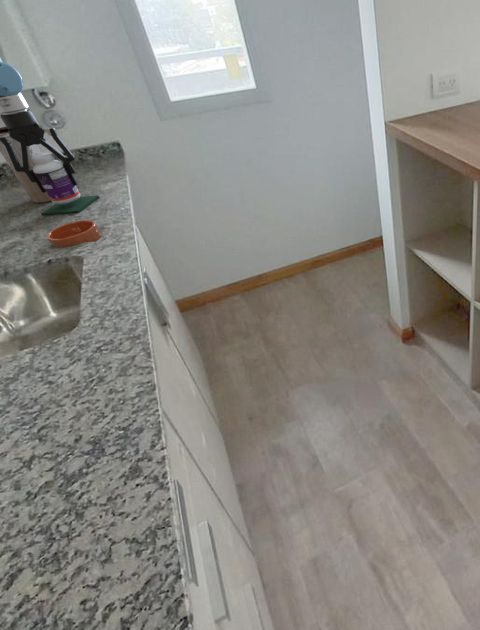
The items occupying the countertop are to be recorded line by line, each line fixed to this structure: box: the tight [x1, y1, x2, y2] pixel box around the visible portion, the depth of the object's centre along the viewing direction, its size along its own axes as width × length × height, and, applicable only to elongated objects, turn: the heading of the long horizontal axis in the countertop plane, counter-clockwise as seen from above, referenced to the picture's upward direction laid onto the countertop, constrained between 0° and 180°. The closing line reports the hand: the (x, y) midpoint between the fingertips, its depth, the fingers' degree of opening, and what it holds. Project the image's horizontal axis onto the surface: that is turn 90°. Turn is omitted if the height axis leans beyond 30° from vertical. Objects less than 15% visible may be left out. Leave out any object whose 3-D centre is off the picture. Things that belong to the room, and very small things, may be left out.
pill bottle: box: [31, 152, 81, 205], centre depth 138 cm, size 8×8×14 cm
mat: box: [40, 195, 100, 217], centre depth 144 cm, size 12×12×1 cm
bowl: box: [46, 219, 102, 248], centre depth 122 cm, size 12×12×4 cm
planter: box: [0, 126, 52, 204], centre depth 145 cm, size 10×10×23 cm
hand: (60, 187), depth 140 cm, fingers closed on pill bottle, 8 cm apart
